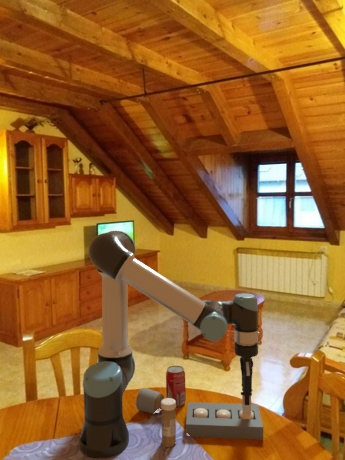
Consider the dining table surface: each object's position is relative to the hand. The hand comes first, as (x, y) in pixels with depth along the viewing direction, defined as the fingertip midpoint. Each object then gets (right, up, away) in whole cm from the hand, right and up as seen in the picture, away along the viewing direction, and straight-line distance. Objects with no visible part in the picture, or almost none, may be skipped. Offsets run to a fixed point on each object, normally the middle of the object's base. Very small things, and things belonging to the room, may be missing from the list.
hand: (246, 412), depth 129 cm
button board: (-8, -5, +1) cm, 9 cm away
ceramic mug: (-32, -5, +12) cm, 34 cm away
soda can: (-23, -4, +17) cm, 29 cm away
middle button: (-7, -4, +1) cm, 8 cm away
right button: (0, -3, 0) cm, 3 cm away
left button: (-15, -3, +2) cm, 15 cm away
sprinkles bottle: (-25, -6, -8) cm, 27 cm away
